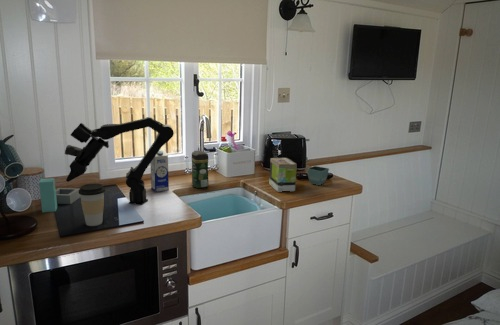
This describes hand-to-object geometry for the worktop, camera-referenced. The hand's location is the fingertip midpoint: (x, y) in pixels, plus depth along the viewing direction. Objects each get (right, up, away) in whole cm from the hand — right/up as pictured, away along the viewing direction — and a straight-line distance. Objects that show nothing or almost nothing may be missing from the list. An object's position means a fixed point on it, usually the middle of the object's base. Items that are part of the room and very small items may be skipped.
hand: (69, 178), depth 159 cm
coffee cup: (+16, -17, -14) cm, 27 cm away
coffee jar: (+51, -6, +37) cm, 63 cm away
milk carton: (+32, -7, +29) cm, 44 cm away
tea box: (+94, -7, +38) cm, 102 cm away
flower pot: (+114, -6, +46) cm, 123 cm away
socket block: (-7, -10, +11) cm, 16 cm away
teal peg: (-7, -13, -1) cm, 15 cm away
